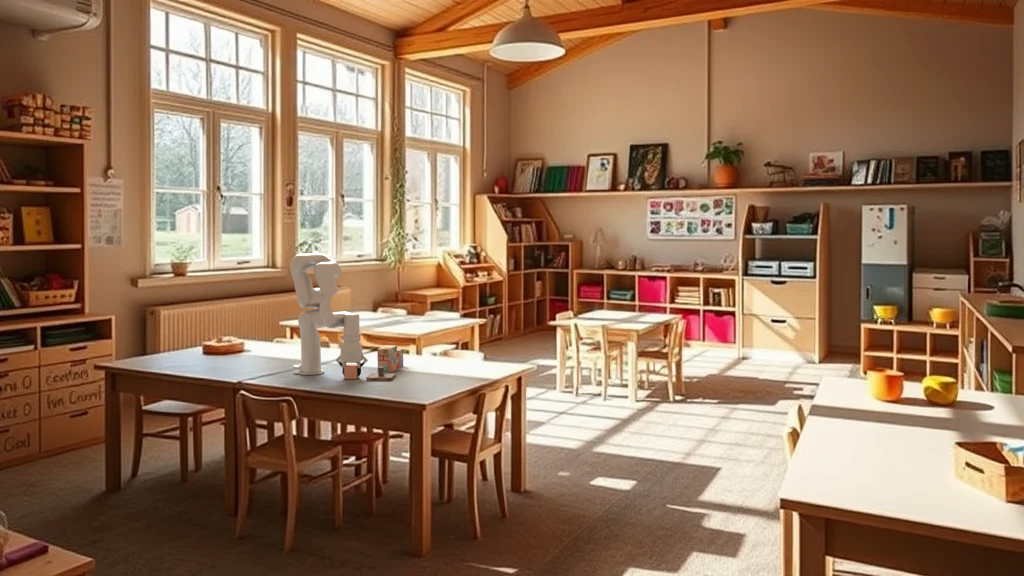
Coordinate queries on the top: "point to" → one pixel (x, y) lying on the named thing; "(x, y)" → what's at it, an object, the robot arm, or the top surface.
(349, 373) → the reddish brown cube
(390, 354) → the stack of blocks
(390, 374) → the base plate
